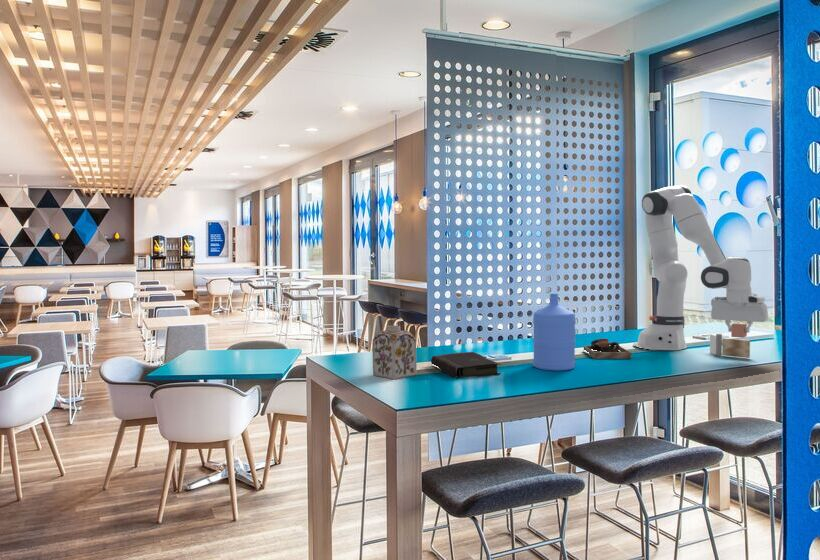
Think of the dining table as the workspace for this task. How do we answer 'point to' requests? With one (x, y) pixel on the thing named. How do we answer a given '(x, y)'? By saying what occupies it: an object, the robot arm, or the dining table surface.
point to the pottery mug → (604, 345)
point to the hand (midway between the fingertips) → (738, 332)
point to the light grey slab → (716, 344)
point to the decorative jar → (394, 354)
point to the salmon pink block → (738, 330)
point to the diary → (465, 364)
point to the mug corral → (609, 354)
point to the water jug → (554, 337)
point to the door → (736, 347)
